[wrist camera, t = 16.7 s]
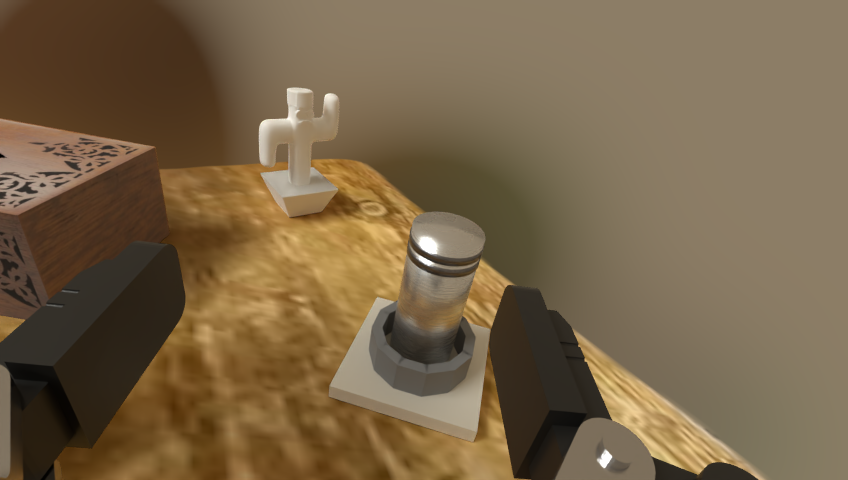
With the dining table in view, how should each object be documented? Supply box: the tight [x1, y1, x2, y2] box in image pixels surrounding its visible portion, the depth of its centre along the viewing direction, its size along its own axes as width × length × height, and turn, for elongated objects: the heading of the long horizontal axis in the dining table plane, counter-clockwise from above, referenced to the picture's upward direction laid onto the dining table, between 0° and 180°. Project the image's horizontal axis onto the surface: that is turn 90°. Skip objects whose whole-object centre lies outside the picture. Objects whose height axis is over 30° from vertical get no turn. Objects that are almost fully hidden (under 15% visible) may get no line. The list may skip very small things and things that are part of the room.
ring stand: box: [329, 297, 490, 442], centre depth 34 cm, size 11×11×4 cm
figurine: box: [259, 88, 340, 217], centre depth 50 cm, size 7×9×15 cm
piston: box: [389, 212, 485, 365], centre depth 31 cm, size 5×5×12 cm
